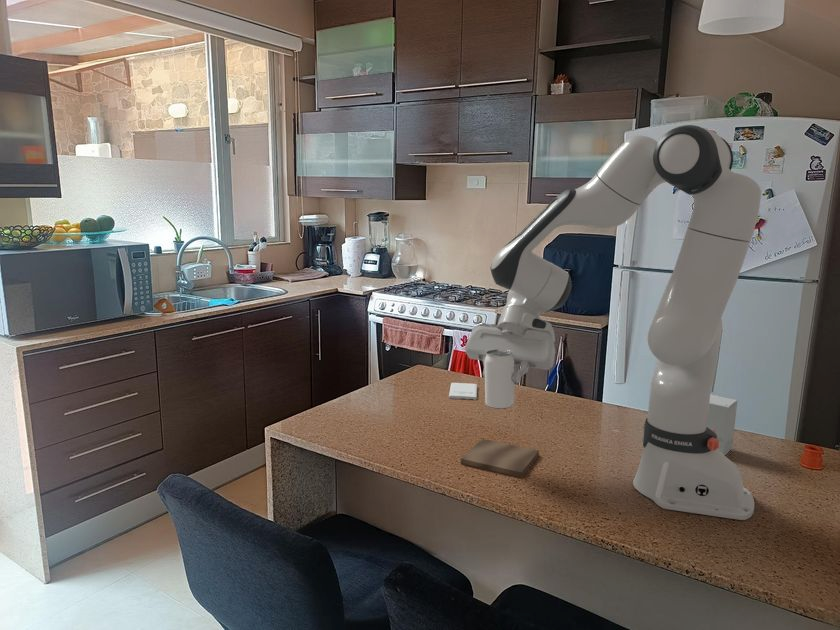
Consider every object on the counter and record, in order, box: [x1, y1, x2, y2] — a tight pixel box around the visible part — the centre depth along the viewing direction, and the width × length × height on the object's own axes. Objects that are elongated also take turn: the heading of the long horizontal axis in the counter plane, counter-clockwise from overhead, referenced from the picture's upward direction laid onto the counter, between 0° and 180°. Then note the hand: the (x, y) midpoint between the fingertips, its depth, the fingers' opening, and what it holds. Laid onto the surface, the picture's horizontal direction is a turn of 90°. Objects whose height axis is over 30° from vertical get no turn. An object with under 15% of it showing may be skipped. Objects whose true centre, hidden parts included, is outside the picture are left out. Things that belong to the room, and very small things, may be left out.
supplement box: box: [707, 394, 738, 456], centre depth 144 cm, size 7×7×13 cm
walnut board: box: [460, 438, 540, 478], centre depth 138 cm, size 14×13×1 cm
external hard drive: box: [448, 382, 478, 401], centre depth 185 cm, size 2×8×12 cm
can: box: [484, 349, 515, 410], centre depth 134 cm, size 6×6×12 cm
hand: (500, 378), depth 133 cm, fingers closed on can, 5 cm apart
